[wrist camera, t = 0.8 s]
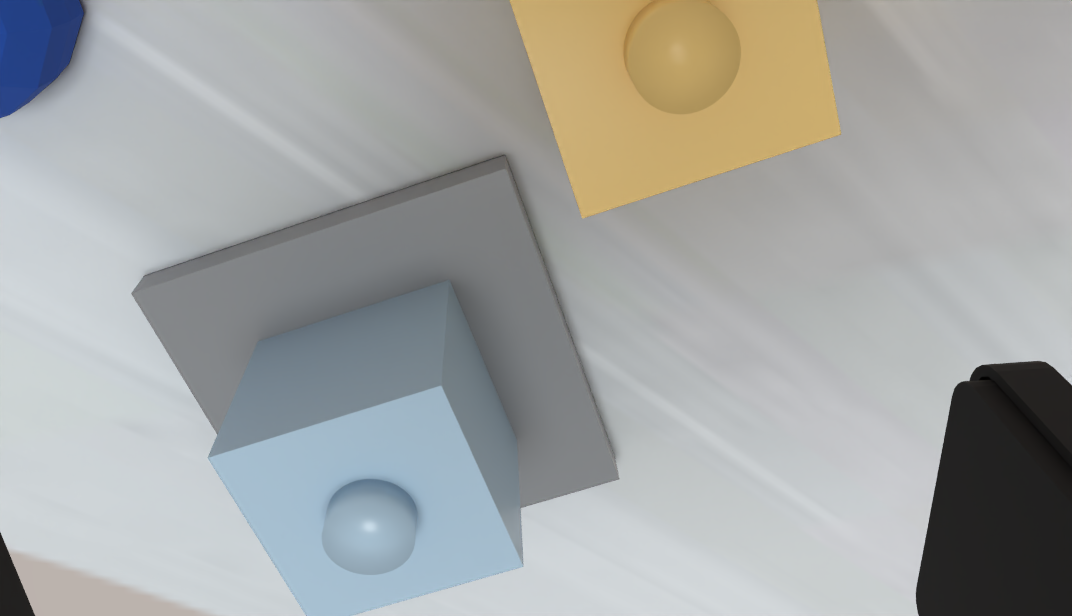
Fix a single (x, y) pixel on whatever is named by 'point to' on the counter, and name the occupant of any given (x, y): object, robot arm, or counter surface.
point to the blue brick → (374, 456)
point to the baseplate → (389, 271)
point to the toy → (34, 47)
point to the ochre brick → (675, 88)
